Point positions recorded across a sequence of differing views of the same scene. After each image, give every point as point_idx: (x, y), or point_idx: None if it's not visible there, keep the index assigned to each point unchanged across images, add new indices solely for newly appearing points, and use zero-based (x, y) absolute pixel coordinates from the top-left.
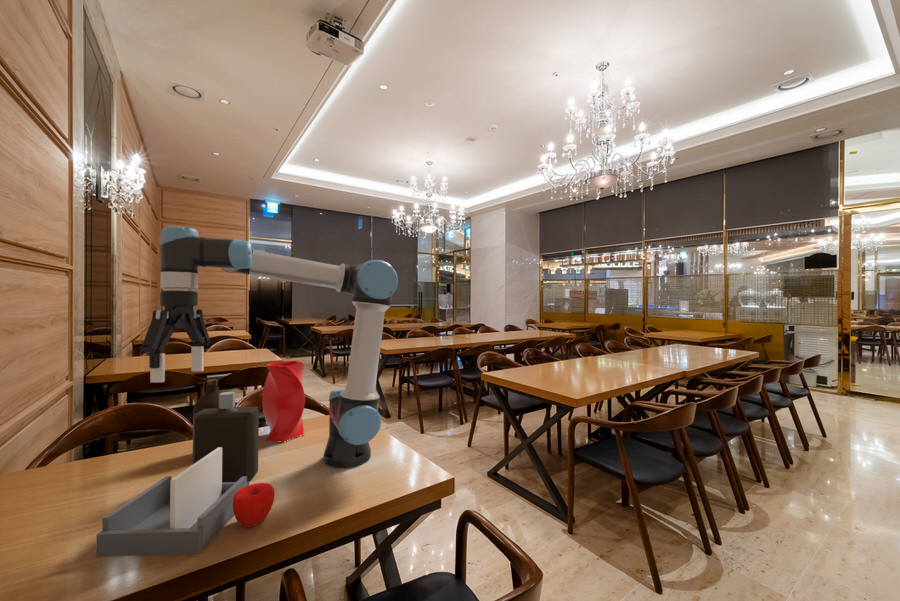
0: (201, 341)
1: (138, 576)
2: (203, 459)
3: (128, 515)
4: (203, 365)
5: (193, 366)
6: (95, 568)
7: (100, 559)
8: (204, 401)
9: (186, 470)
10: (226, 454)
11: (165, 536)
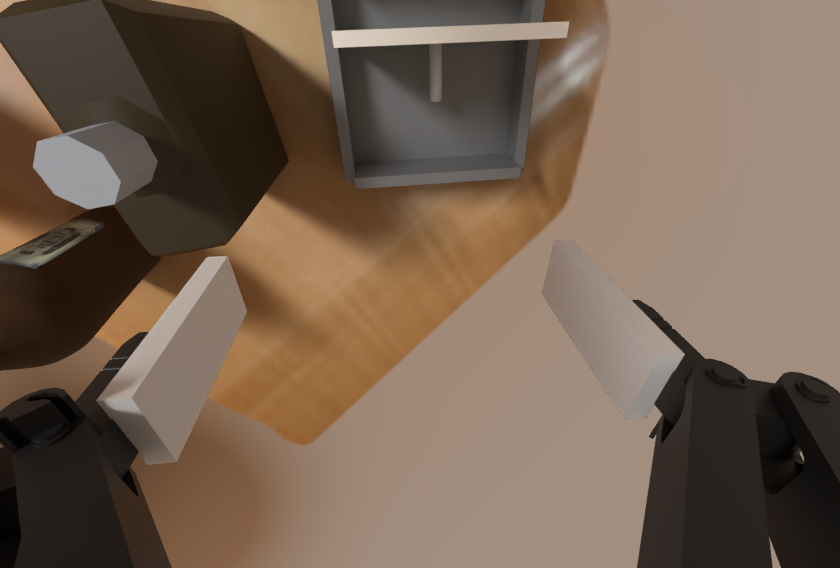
0: (91, 460)
1: (576, 40)
2: (434, 31)
3: (471, 164)
4: (191, 277)
5: (233, 321)
6: (539, 136)
7: None
8: (45, 335)
9: (511, 32)
10: (237, 92)
11: None
